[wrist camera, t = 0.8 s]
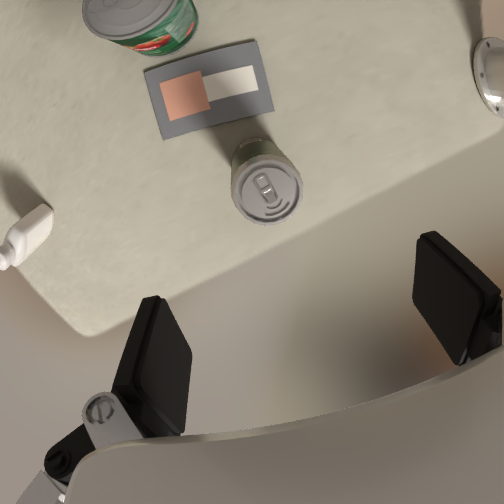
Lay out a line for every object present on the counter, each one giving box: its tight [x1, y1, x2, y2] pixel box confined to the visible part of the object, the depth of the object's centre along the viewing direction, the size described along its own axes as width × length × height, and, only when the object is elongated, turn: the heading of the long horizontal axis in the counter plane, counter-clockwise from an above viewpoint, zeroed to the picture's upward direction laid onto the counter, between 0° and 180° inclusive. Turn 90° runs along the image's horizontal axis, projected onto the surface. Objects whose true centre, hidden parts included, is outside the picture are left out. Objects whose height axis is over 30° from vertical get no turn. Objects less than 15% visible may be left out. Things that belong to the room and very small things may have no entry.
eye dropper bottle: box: [0, 204, 54, 270], centre depth 28 cm, size 4×6×12 cm
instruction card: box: [144, 41, 274, 140], centre depth 27 cm, size 12×8×1 cm, turn 103°
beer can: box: [231, 138, 303, 226], centre depth 26 cm, size 5×5×12 cm
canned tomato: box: [82, 0, 199, 57], centre depth 18 cm, size 8×8×11 cm
